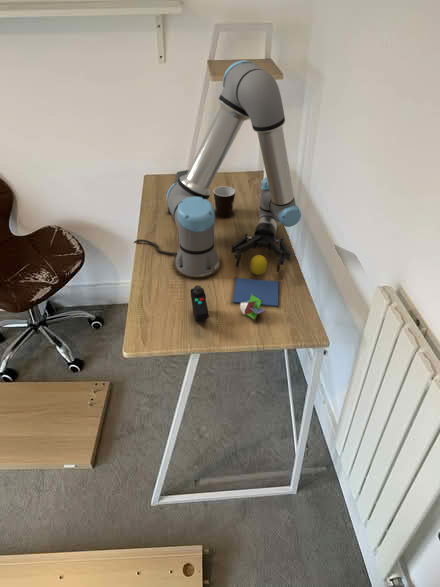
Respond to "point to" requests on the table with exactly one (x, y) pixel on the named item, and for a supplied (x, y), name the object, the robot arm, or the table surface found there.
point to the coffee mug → (224, 200)
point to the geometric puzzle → (252, 307)
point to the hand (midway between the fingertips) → (257, 266)
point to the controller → (199, 304)
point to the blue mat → (256, 291)
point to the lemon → (258, 264)
